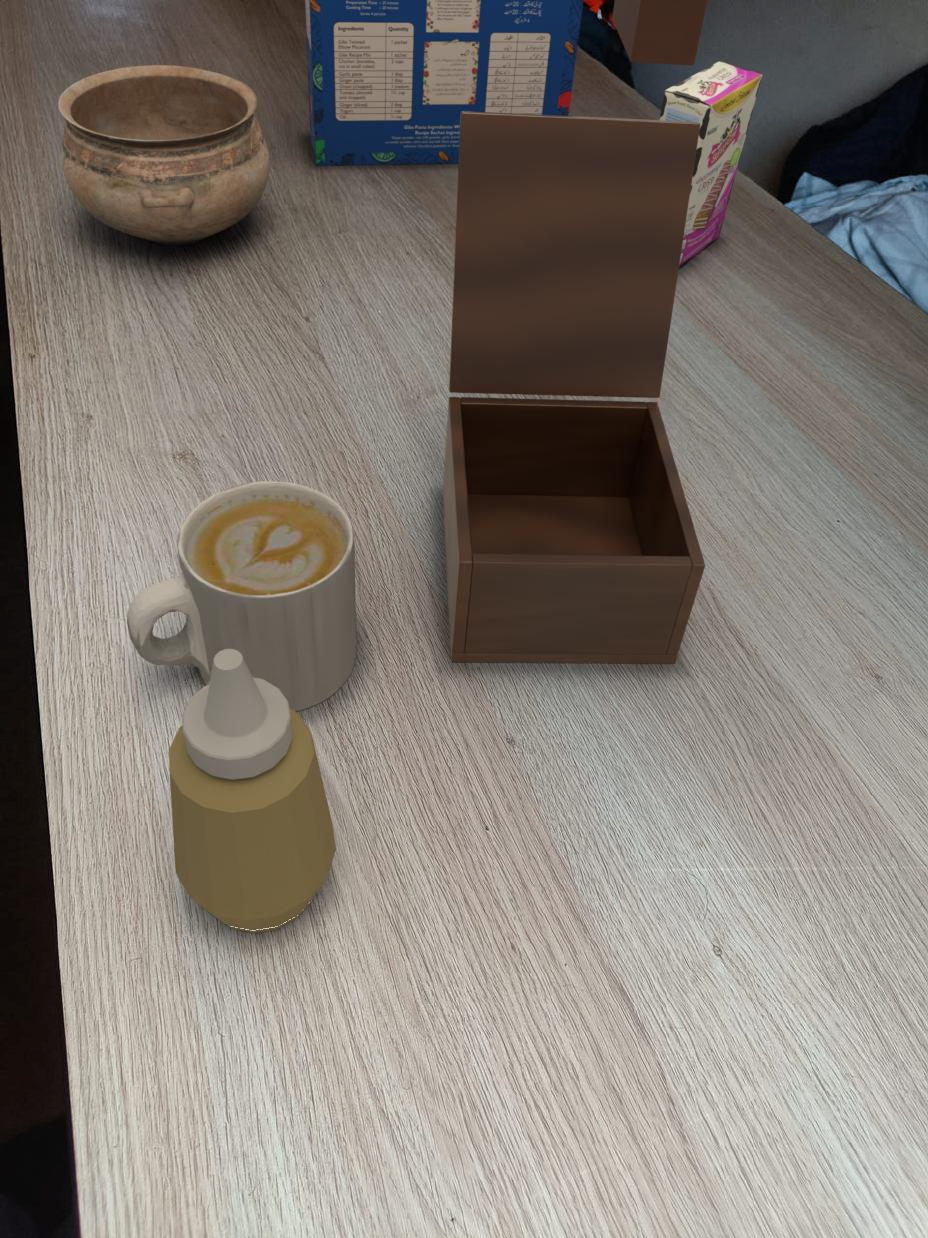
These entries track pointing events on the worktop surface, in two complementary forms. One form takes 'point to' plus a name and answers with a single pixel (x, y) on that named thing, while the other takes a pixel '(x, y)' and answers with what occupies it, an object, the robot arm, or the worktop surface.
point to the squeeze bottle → (248, 802)
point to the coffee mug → (260, 590)
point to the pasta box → (430, 72)
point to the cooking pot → (164, 151)
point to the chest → (565, 533)
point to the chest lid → (567, 252)
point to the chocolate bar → (660, 29)
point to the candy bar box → (712, 143)
